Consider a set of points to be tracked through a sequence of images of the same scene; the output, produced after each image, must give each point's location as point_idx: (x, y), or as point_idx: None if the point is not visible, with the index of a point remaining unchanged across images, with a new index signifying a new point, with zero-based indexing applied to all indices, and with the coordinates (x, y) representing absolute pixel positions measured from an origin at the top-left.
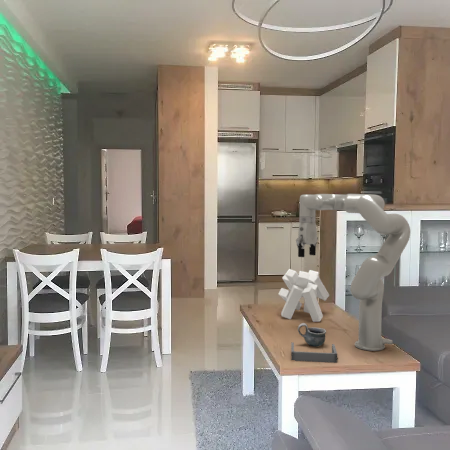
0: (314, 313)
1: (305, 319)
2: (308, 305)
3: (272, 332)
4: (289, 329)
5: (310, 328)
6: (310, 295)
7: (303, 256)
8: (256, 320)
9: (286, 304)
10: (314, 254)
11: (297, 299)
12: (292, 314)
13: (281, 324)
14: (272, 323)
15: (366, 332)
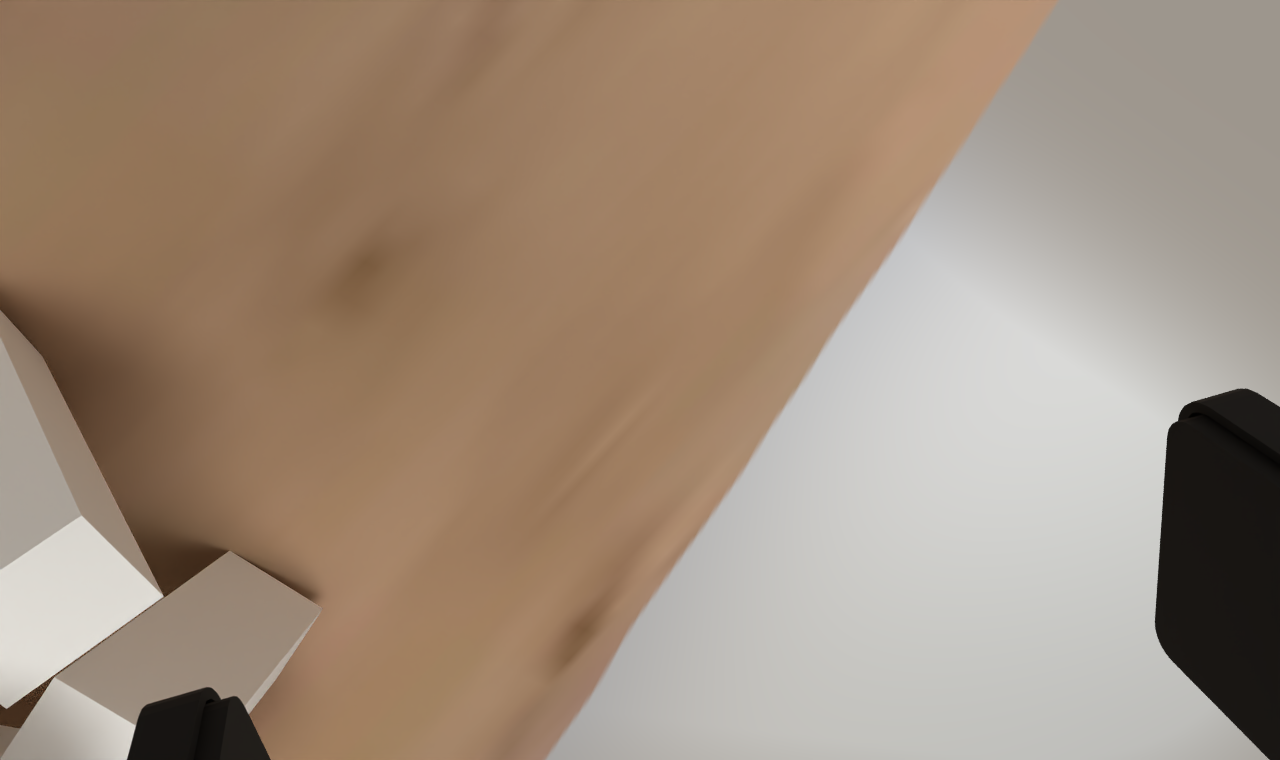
0: (26, 361)
1: None
2: (84, 456)
3: (748, 258)
4: (525, 251)
5: None
6: (65, 478)
7: (1253, 411)
8: (573, 653)
9: (274, 672)
10: (227, 717)
11: (152, 640)
12: (212, 568)
13: (462, 440)
14: (516, 510)
15: None
